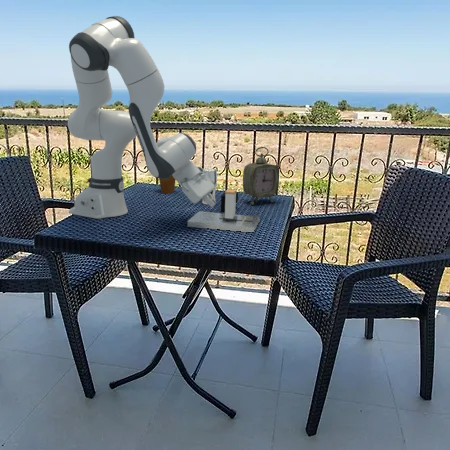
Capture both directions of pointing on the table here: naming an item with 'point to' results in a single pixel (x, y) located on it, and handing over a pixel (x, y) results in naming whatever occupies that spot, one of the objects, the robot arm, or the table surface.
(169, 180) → the disposable coffee cup
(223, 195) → the digital camera
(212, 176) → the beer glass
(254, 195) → the tabletop clock
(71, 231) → the table surface
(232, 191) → the fader tab
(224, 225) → the plate
